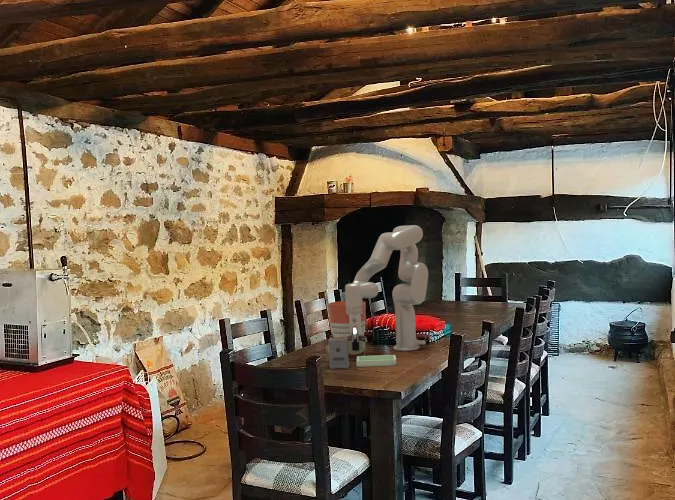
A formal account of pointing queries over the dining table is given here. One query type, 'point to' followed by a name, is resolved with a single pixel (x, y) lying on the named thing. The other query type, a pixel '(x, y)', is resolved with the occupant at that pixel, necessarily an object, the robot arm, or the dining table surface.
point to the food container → (362, 346)
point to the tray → (376, 360)
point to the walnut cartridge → (327, 354)
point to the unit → (338, 352)
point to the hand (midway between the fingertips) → (356, 348)
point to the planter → (343, 319)
